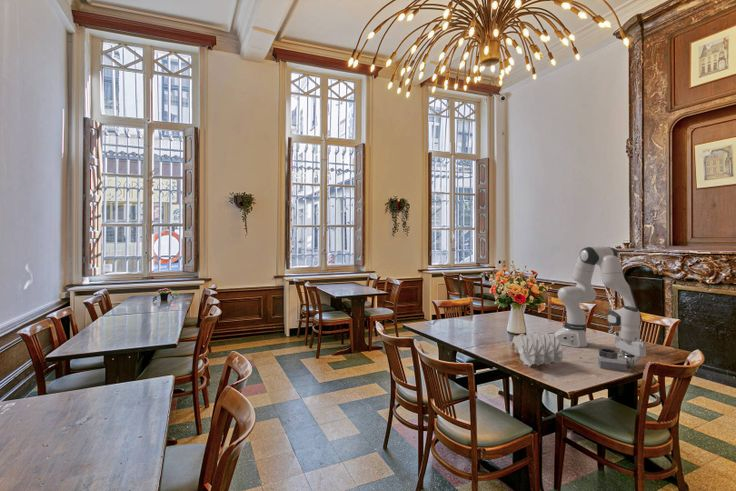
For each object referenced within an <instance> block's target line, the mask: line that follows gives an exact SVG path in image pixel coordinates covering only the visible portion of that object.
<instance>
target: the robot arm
mask: <svg viewBox="0 0 736 491" xmlns="http://www.w3.org/2000/svg"><path fill="white" fill-rule="evenodd" d="M596 265H597V266H598V267H599V269H600V278H601V283H602V284H603V285H604V286H605V287H606V288H608V289H609V290H612V291H615V292H617V293H619V294H620V296H621V297H622V300H623V304H624V306H623V307H621V308H618V309H612V310H609V311H608V313H607V314H606V320H607V323H608V324H609V325H610V326H612V327H615V328H616V327H617V328H618V327H620V330H619V331H614V347H615V348H617V349H618V350H619V352H620V354H621V355H623V353H630V354H633V355H635V359H634V360H633V363H634V365H638V364H639V361H640V359H641V358H646V356H647V349H646V344H645V343H644V341H643V340H642V339H640V338H641V329H640V325H641V323H642V321H643V317H642V314H641V312H640V310H639V308H638V305H637V302H636V299H635V296H634V293H633V290H632V287H631V285H630V283H628V282H627V281H626V279H625V277H624V272H623V267H622V264H621V261H620V258H619V254H618V250H616V248H614V247H610V246H587V247H584V248H582V249H581V250H580V252H579V255H578V257H577V260H576V262H575V266H574V269H573V271H572V279H573V280H574V281H575V282H576V285H575V286H568V285H567V286H564V287H560V288H559V289H558V290H557V297H558V300H559V301H560V302H562V304H564V307H565V309H566V321H564V320H563V321H562V326H563V327H561V328H559V329H558V330H556V331H555V333H554V334H553V335H555V337H556V338H557V339H558V340H559V341H560V343H561V346H565V347H566V346H567V347H570V348H571V347H572V348H582V347H583V348H584V347H587V346H588V341H587V336H586V333H587V323H586V320H587V319H586V315H587V314H586V311H585V310H584V309H582V308H581V307H580V303H581V304H582V303H589V302H594V300H596V298H597V292H596V290H595V289H594V288H593V286H592V278H593V275H594V271H595V268H596ZM623 356H624V355H623Z"/></svg>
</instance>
